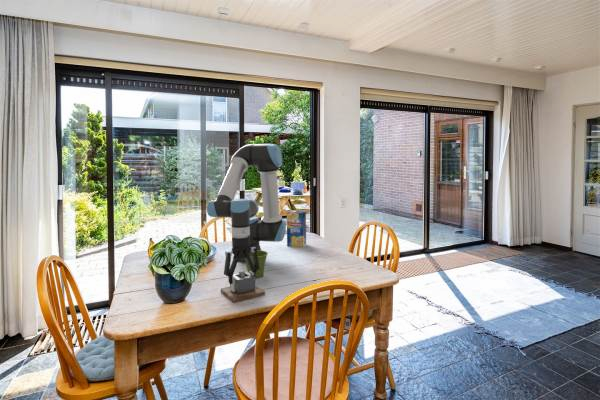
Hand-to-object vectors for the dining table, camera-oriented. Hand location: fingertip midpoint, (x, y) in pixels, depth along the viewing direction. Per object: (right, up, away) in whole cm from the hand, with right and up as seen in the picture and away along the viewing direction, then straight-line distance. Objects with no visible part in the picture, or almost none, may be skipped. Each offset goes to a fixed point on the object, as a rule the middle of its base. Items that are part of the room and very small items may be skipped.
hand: (242, 288), depth 153 cm
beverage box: (+22, +8, +79) cm, 83 cm away
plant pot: (+3, +1, +23) cm, 23 cm away
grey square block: (0, 0, 0) cm, 0 cm away
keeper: (0, -2, 0) cm, 2 cm away
